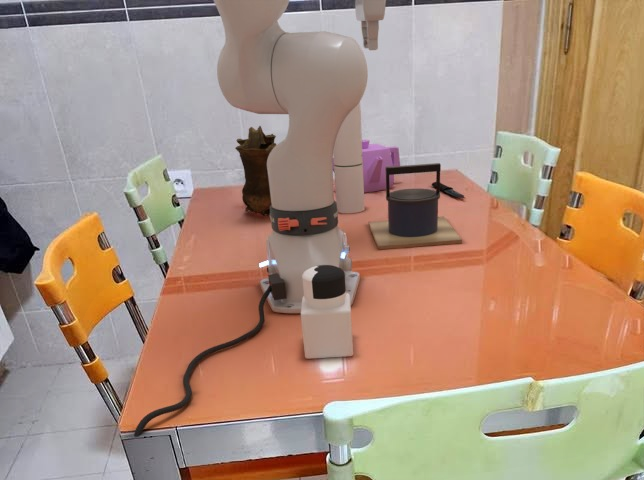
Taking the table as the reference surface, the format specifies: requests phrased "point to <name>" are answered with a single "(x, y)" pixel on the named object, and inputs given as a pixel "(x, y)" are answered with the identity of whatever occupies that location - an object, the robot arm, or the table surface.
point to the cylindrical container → (349, 164)
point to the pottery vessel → (256, 170)
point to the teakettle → (377, 165)
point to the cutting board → (390, 241)
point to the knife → (448, 190)
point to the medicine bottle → (326, 313)
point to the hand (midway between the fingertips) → (370, 49)
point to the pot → (413, 204)
